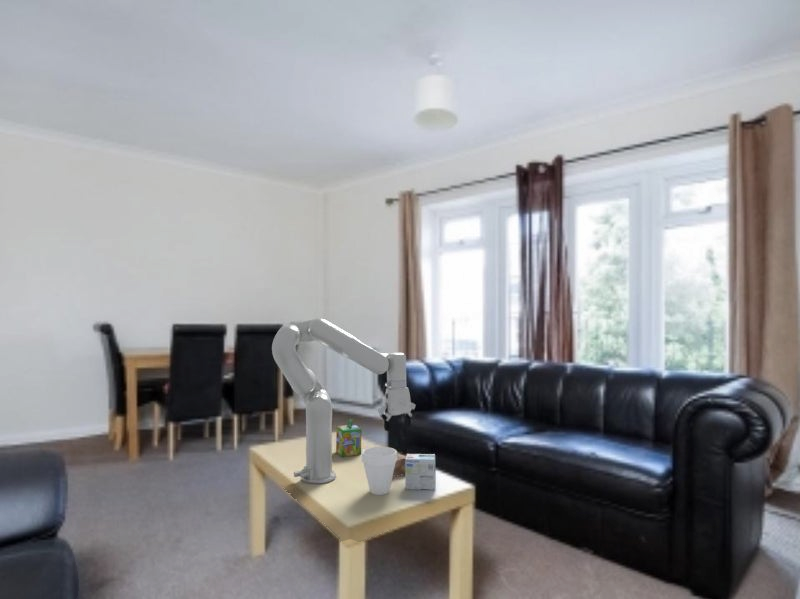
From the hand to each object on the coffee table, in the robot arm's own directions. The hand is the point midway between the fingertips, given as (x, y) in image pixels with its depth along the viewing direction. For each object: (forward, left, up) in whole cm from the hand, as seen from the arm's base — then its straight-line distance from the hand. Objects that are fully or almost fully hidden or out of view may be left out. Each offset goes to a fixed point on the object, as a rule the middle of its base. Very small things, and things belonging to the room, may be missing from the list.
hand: (397, 428), depth 181 cm
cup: (-16, -12, -17) cm, 26 cm away
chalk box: (-2, +34, -17) cm, 38 cm away
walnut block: (0, 0, -17) cm, 17 cm away
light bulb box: (-2, -17, -17) cm, 24 cm away
